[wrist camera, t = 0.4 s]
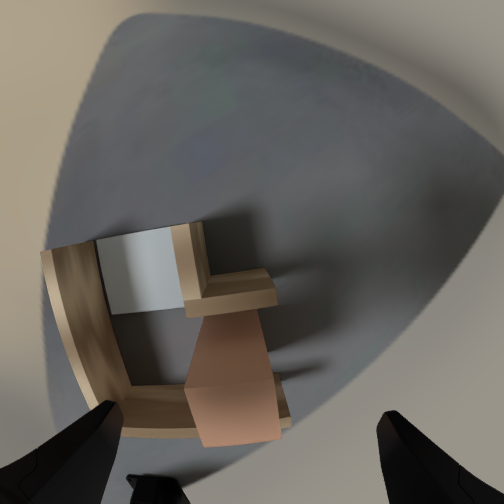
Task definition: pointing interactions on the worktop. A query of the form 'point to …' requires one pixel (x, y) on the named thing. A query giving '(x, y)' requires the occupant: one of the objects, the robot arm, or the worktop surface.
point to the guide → (139, 300)
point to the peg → (232, 382)
